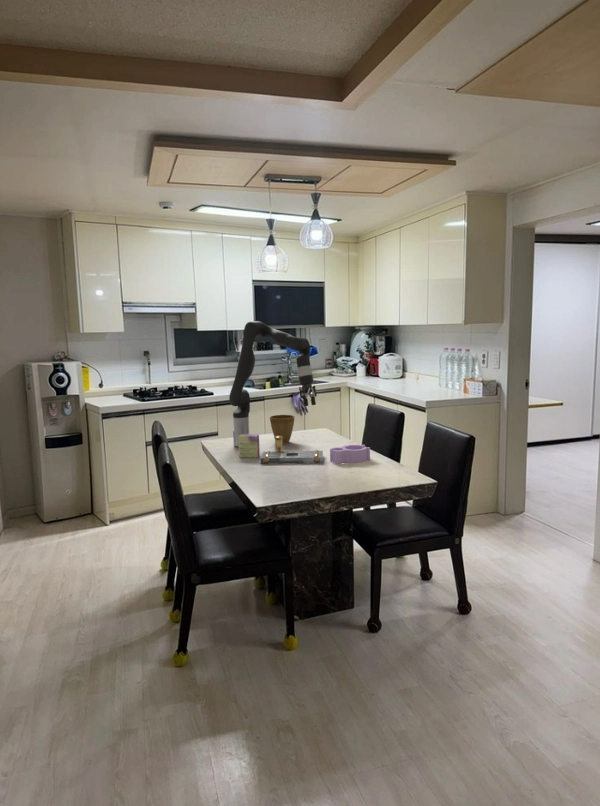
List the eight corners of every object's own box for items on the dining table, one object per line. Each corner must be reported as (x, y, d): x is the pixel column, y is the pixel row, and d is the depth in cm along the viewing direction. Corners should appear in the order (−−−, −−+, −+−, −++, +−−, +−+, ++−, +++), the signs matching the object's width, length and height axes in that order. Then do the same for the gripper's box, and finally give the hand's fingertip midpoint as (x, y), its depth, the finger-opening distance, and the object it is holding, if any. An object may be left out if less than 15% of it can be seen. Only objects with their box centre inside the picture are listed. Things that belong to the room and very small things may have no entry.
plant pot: (295, 445, 305) (294, 418, 302) (269, 445, 305) (268, 419, 303) (295, 439, 320) (294, 414, 317) (271, 440, 320) (270, 414, 317)
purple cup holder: (336, 466, 259) (335, 452, 258) (327, 460, 271) (327, 447, 270) (372, 461, 265) (372, 448, 264) (362, 456, 277) (362, 443, 276)
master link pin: (274, 455, 282) (273, 437, 281) (275, 453, 287) (274, 435, 286) (283, 455, 282) (282, 437, 281) (283, 453, 287) (283, 435, 285)
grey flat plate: (260, 464, 266) (260, 458, 265) (263, 456, 281) (263, 450, 280) (322, 463, 264) (322, 457, 264) (322, 455, 279) (322, 450, 279)
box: (259, 454, 285) (259, 433, 283) (258, 457, 279) (257, 436, 277) (241, 455, 286) (240, 434, 284) (239, 457, 280) (238, 436, 278)
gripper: (305, 376, 281) (310, 405, 280) (292, 376, 268) (297, 407, 268) (317, 373, 277) (322, 403, 277) (305, 374, 265) (310, 405, 264)
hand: (310, 405), depth 272 cm, fingers open, 8 cm apart
